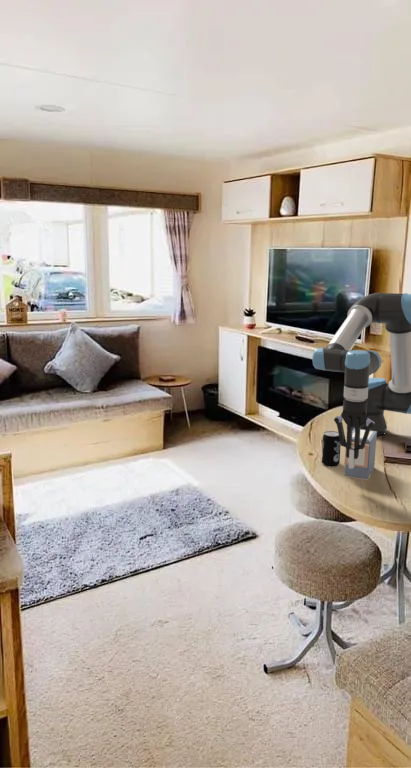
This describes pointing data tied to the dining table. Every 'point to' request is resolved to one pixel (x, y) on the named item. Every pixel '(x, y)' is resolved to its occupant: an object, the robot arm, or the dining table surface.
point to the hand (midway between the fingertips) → (351, 466)
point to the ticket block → (366, 472)
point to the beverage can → (331, 448)
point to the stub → (360, 457)
